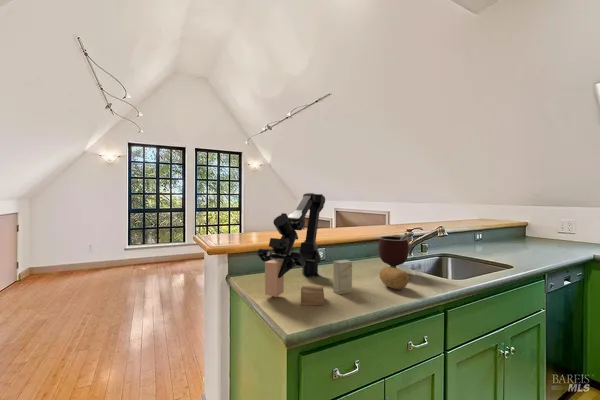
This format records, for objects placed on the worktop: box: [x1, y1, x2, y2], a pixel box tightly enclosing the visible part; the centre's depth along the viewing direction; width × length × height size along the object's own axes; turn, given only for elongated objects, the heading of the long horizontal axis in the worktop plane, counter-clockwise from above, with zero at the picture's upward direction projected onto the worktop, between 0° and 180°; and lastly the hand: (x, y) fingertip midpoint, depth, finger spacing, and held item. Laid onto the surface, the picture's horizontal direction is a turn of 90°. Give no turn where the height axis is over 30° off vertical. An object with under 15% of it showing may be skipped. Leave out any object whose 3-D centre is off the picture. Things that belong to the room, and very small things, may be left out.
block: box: [264, 259, 285, 298], centre depth 105 cm, size 5×5×12 cm
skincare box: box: [332, 259, 353, 295], centre depth 112 cm, size 6×4×12 cm
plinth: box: [300, 285, 325, 306], centre depth 102 cm, size 8×8×4 cm
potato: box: [379, 266, 410, 290], centre depth 116 cm, size 10×14×8 cm
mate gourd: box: [378, 232, 413, 272], centre depth 138 cm, size 16×14×20 cm
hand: (272, 276), depth 104 cm, fingers closed on block, 5 cm apart
